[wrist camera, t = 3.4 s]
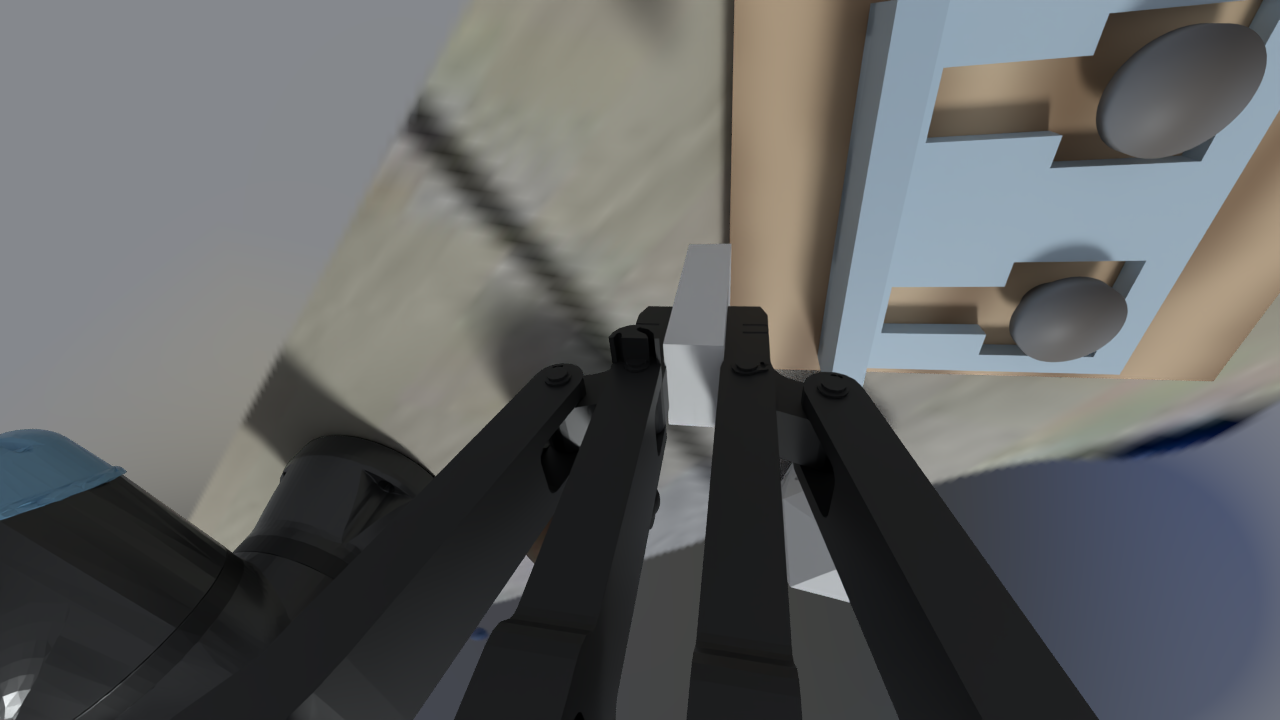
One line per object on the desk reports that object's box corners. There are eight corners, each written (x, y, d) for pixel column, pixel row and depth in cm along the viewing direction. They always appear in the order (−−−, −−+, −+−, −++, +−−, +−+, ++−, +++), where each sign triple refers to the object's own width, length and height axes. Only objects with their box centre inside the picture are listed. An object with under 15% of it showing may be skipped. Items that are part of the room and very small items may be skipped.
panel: (817, 356, 27) (827, 399, 24) (870, 3, 18) (897, -1, 15) (1106, 362, 24) (1160, 412, 21) (1343, -49, 15) (1497, -67, 12)
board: (727, 356, 29) (726, 391, 26) (735, -12, 19) (734, -18, 16) (1194, 367, 25) (1253, 411, 22) (1531, -109, 15) (1721, -140, 12)
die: (844, 404, 31) (753, 514, 26) (973, 504, 28) (895, 646, 24) (795, 452, 38) (716, 545, 33) (893, 536, 35) (822, 649, 31)
